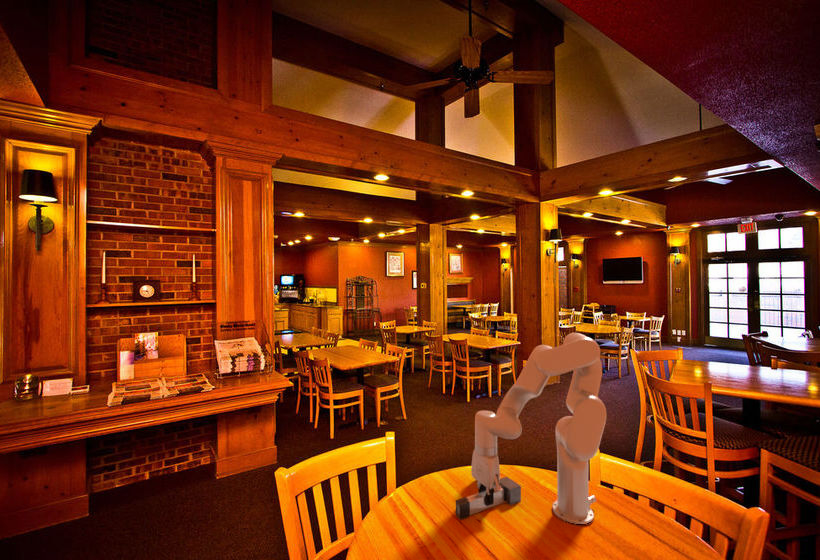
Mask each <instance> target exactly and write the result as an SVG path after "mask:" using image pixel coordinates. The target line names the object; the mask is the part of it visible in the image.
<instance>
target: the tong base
mask: <svg viewBox="0 0 820 560" xmlns="http://www.w3.org/2000/svg"><path fill="white" fill-rule="evenodd" d="M499 487H500V488H502V489H504V503H506V504H507V505H509V506H513V505H515V504H517V503H518V504H519V503H520V502H521V501H522V500H521V499H522V496H521V495H522V494H521V493H522V486H521V484H519V483H517V482H516V481H514V480H513V479H511V478H509V477H508V476H505V477H500V483H499ZM490 489H491V488H490ZM485 493H487V491H486V490H485V491H482V492H479V491H478V492H477V493H474V494H472V495H468V496H464V497H461V498H459V499H456V500H455V516H456V517H457V503H460V502H463V501H465V500H469V499H471V498H474V497H477V496H480V495H483V494H485Z"/></svg>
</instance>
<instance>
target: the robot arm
mask: <svg viewBox="0 0 820 560" xmlns="http://www.w3.org/2000/svg"><path fill="white" fill-rule="evenodd" d="M562 343H563V344H562V345H559V346H555V347H552V346H550V345H546V344H540V345H537V346H536V347H534V349H533V350H532V351H531V353H530V355H529V357H528V359H527V360H526V363H525V365H524V366H523V367H522V370H521V372H520V374H519V376H518V378H517V380H516V381H515V383H513V385H512V386H511V387H510V388H509V390H508V391H507V392H506V394H505V395H504V397H503V399H502V400H501V403H500V404H499V406H498V408H497V410H496V413H495V412H493V411H492V410H479V411H477V412H476V413H475V416H474V449H473V452H472V457H471V459H472V460H471V471H470V472H471V476H472V478H473V479H475V480H476V481H475V482H476V484H477V486H476V487H477V488H478V493H479V492H482V491H485V490H486V491H487V493H486V494H485V505H486V506H489V505H491V504H493V503H494V493H495V492H499V491H500V487H499V483H500V479H501V473H500V471H501V470H500V462H499V454H498V437H499V438H502V439H507V440H515V439H517V438H519V437H520V436H521V435H522V431H523V429H522V424H521V421H520V419H519V416H520V414H521V412H522V411H523V408H524V407H525V406H526V404H527V403H528V401H529V400H530V401H531V400H532V399H534V398H537V397H539V396H540V395H541V393H542V392H543V390H544V388H545V386H546V384H547V382H548V380H549V379H550V378H551V377H554V376H560V375H564V374H567V373H570V372H573V373H572V378H571V382H570V385H569V389H568V392H567V395H566V399H565V403H566V404H565V405H566V407H567V409H568V411H570V413H571V414H572V415H566V416H563V417H561V418H560V419H558V421H557V423H556V425H555V440H556V442H555V444H556V456H557V457H556V458H557V460H556V462H557V463H556V466H557V467H556V469H557V471H556V472H557V474H556V476H557V479H556V481H557V485H556V486H557V488H556V489H557V493H556V494H557V499H556V500H555V501H554V502H553V503H552V511H553V513H554V515H555V516H556V517H557V518H559V519H560V518H561V519H560V520H562V519H563V520H562V521H564V522H566V521H567V522H566V523H568V522H570V523H569V524H571V523H575V524H574V525H576V524H585V523H589V522H591V521H592V520H593V518H594V519H595V514H594V511H593V510H592V508H591V505H592V504H593V503H595V502H597V498H596V496H595V495H589V461H590V460H591V459H593V458H594V457H595V455H597V453H598V450H599V449H600V448H599V447H600V445H601V441H602V437H603V433H604V429H605V427H606V426H605V425H606V422H607V416H608V415H607V408H606V405H605V404H604V402H603V401H602V399H600V398H599V392H600V386H601V382H602V377H603V365H602V362H601V361H602V360H601V357H600V355H601V348H600V346H599V344H598V343H597V341H595V340H594V339H593V338H591V337H588V336H586V335H585V334H582V333H579V332H572V333H571V332H570V333H569V334H567V335H566V336H565V337H564V339H563V342H562ZM497 454H498V455H497ZM490 488H491V489H490ZM590 515H591V516H590ZM593 521H594V520H593ZM593 521H592V522H593ZM592 522H591V523H592ZM589 524H590V523H589Z"/></svg>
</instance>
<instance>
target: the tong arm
mask: <svg viewBox="0 0 820 560" xmlns="http://www.w3.org/2000/svg"><path fill="white" fill-rule="evenodd" d="M485 494H486V493H485ZM485 494H483V495H480V496H477V497H474V498H471V499H469V500H465V501H463V502H460V503H457V516H456V518H457V519H458V520H460V521H461V520H463V519H466V518H469V517H470V516H472V515H474V514H476V513H480V512H482V511H484V510H488V509H491V508H492V507H496V506H498V505H500V504H503V503H505V501H504V489H502V488H500V491H499V492H495V493H494V503H493V504H491V505H489V506H486V505H485Z"/></svg>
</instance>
